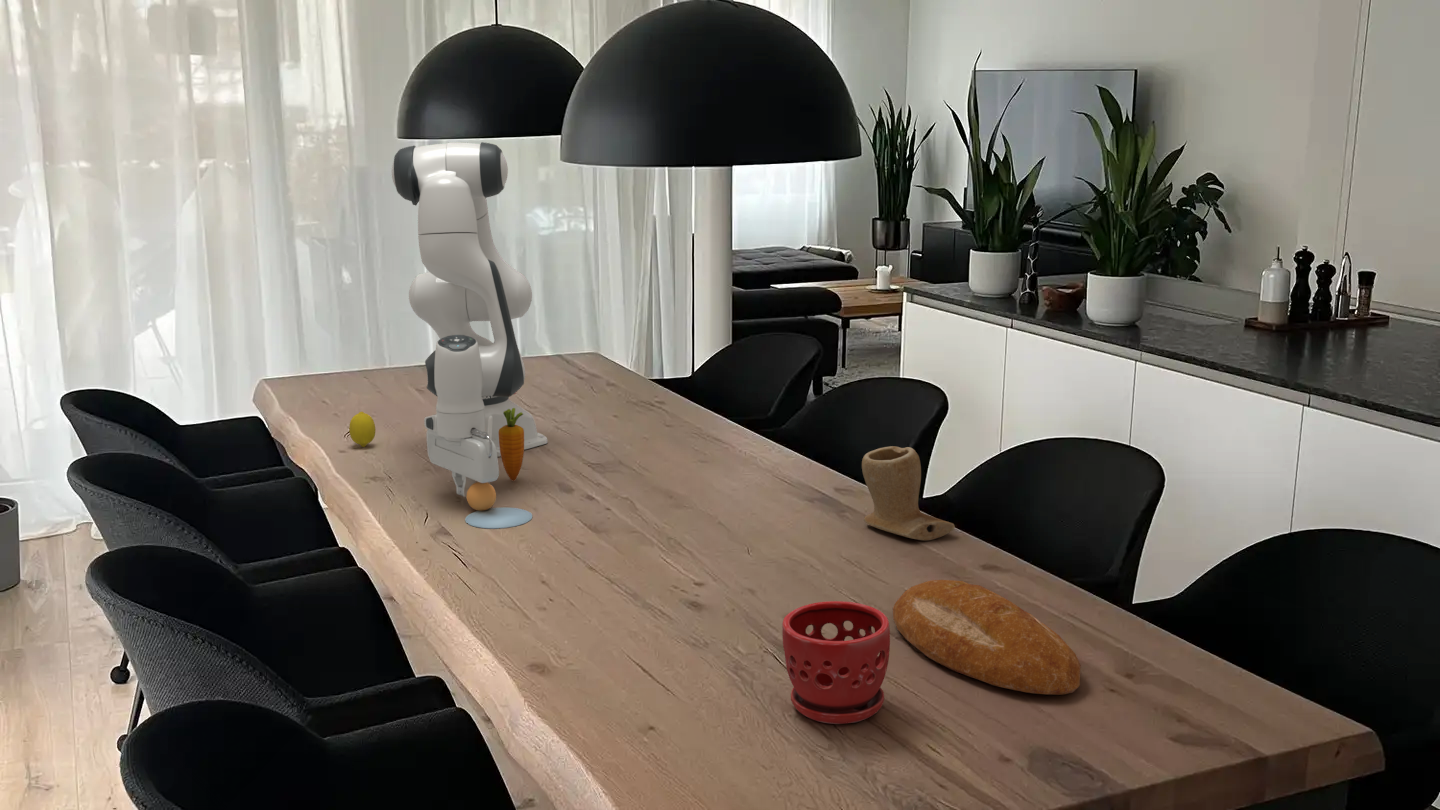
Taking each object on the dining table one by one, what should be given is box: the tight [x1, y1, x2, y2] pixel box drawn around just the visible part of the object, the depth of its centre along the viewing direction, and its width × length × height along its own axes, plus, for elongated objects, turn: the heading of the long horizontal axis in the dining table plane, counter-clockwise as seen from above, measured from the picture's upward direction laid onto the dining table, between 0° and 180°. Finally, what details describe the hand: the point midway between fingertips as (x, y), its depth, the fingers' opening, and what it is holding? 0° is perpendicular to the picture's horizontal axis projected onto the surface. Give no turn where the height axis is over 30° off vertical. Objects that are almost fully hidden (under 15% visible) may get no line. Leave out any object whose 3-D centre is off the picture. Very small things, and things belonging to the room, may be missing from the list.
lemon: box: [348, 411, 376, 448], centre depth 293 cm, size 6×6×8 cm
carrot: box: [499, 408, 525, 482], centre depth 265 cm, size 5×5×15 cm
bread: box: [892, 579, 1082, 696], centre depth 183 cm, size 18×35×9 cm, turn 26°
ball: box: [466, 481, 497, 511], centre depth 248 cm, size 5×5×5 cm
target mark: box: [464, 506, 533, 530], centre depth 244 cm, size 12×12×1 cm
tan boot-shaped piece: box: [861, 445, 956, 541], centre depth 233 cm, size 15×12×15 cm
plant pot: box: [781, 600, 891, 725], centre depth 166 cm, size 13×13×12 cm
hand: (464, 495), depth 252 cm, fingers closed
